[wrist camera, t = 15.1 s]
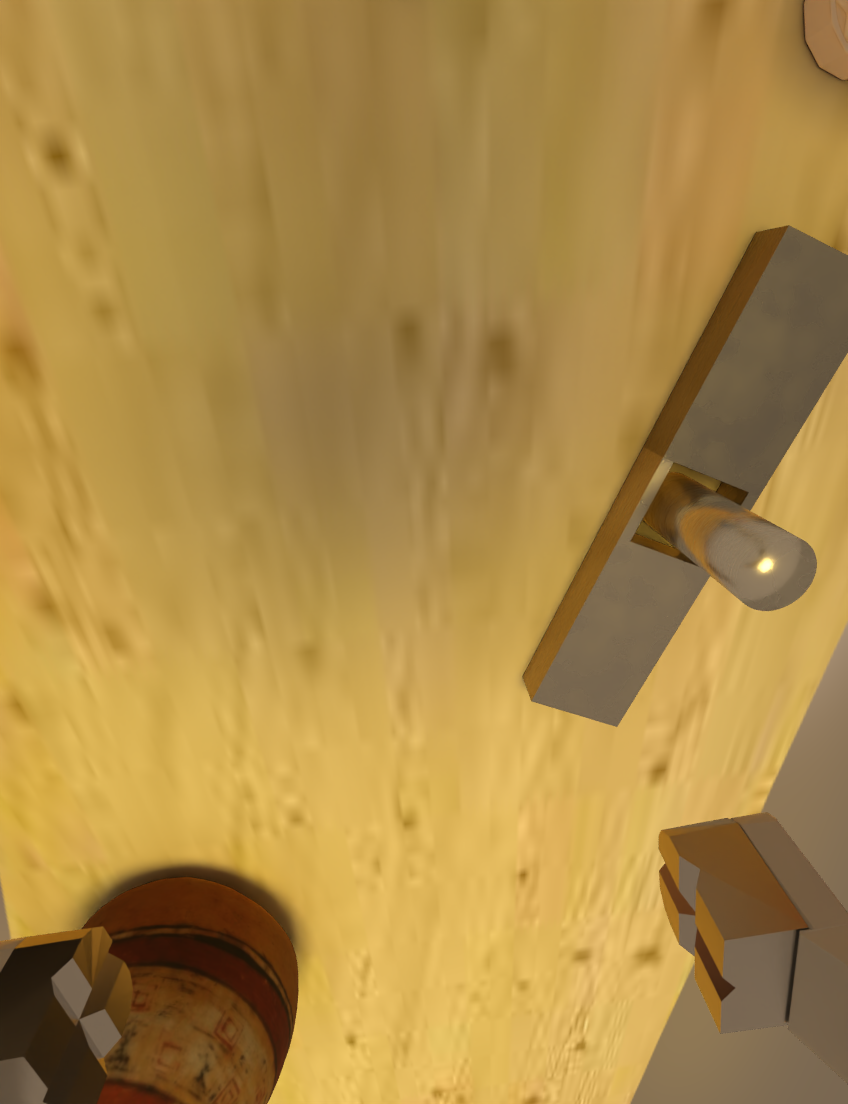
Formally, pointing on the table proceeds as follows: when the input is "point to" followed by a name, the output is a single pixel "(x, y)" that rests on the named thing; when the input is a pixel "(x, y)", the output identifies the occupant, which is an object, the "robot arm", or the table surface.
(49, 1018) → the robot arm
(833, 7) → the white cup
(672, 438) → the grey slab
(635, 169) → the table surface
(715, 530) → the pin
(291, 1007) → the ceramic pitcher
